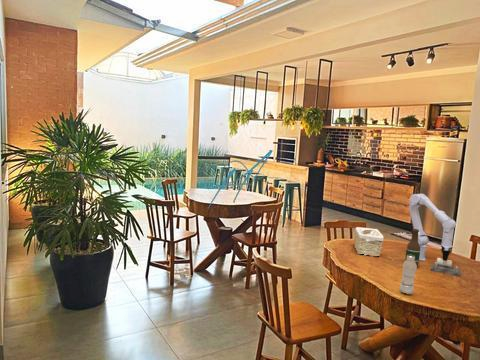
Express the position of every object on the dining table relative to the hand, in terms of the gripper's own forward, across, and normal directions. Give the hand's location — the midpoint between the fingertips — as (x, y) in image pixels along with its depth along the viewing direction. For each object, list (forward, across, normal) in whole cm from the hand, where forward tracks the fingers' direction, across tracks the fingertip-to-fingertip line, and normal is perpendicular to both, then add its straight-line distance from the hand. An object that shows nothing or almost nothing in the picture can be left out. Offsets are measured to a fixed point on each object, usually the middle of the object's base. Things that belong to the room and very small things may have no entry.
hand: (444, 258), depth 234 cm
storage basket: (+5, -2, +48) cm, 48 cm away
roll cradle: (+5, -10, -1) cm, 11 cm away
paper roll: (+5, 0, 0) cm, 5 cm away
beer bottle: (+5, -15, +18) cm, 24 cm away
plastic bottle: (+5, -64, +17) cm, 66 cm away
